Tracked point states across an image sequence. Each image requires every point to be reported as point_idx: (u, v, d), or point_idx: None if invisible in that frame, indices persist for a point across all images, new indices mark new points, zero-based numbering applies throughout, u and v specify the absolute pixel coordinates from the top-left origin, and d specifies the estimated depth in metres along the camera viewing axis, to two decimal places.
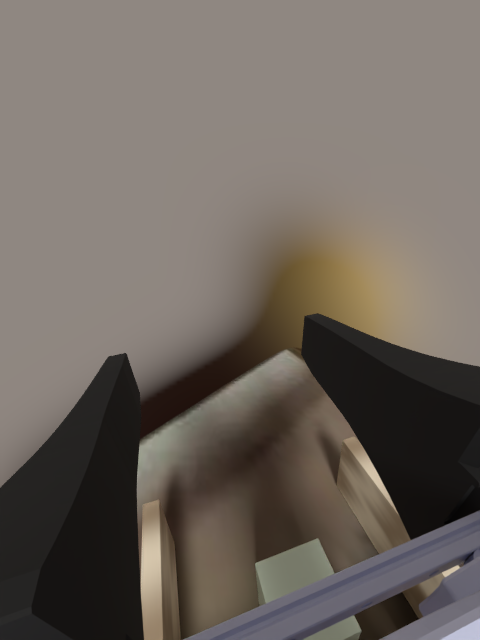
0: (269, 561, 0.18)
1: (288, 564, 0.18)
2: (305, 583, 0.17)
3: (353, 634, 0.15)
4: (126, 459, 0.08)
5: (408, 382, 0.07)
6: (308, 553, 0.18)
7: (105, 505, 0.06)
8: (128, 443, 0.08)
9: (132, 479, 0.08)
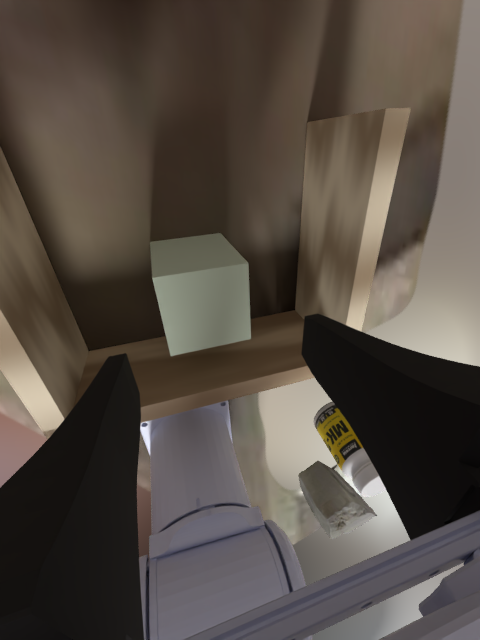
0: (173, 278, 0.13)
1: (198, 284, 0.13)
2: (212, 304, 0.14)
3: (242, 340, 0.16)
4: (126, 459, 0.08)
5: (408, 383, 0.07)
6: (228, 277, 0.13)
7: (105, 505, 0.06)
8: (128, 443, 0.08)
9: (132, 479, 0.08)
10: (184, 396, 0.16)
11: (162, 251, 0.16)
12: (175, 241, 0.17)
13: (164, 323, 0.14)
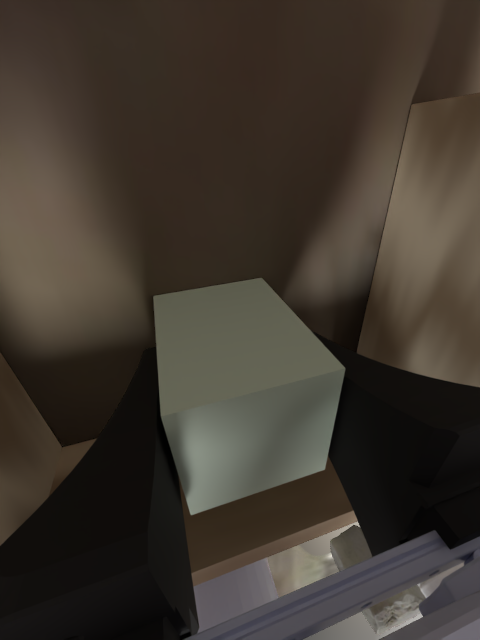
0: (204, 410, 0.06)
1: (250, 413, 0.07)
2: (271, 437, 0.07)
3: (311, 473, 0.09)
4: None
5: (363, 395, 0.07)
6: (306, 394, 0.07)
7: (167, 486, 0.06)
8: None
9: (175, 466, 0.08)
10: (211, 565, 0.09)
11: (176, 323, 0.09)
12: (194, 296, 0.11)
13: (182, 477, 0.07)
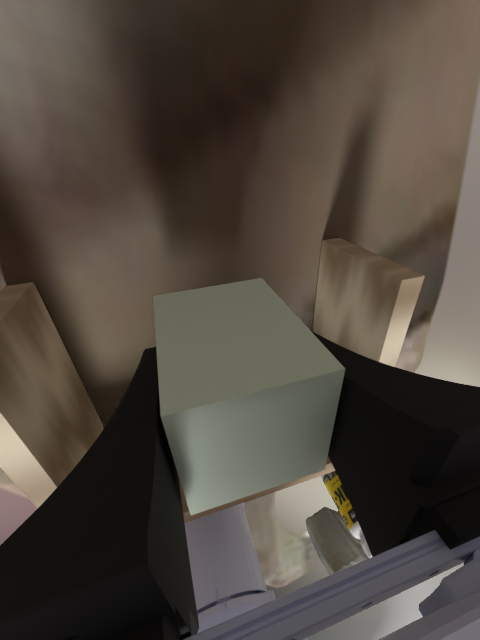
0: (204, 410, 0.06)
1: (250, 413, 0.07)
2: (271, 437, 0.07)
3: (311, 473, 0.09)
4: None
5: (363, 395, 0.07)
6: (306, 394, 0.07)
7: (167, 486, 0.06)
8: None
9: (175, 466, 0.08)
10: None
11: (175, 323, 0.09)
12: (194, 296, 0.11)
13: (182, 477, 0.07)
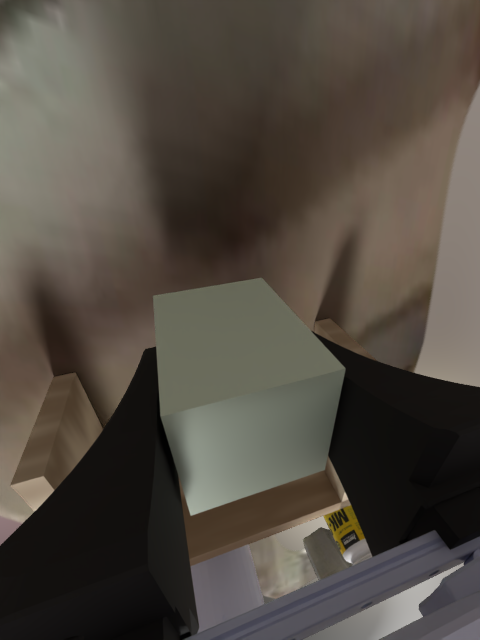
0: (204, 410, 0.06)
1: (250, 413, 0.07)
2: (271, 437, 0.07)
3: (311, 473, 0.09)
4: None
5: (363, 395, 0.07)
6: (306, 395, 0.07)
7: (167, 486, 0.06)
8: None
9: (175, 466, 0.08)
10: (216, 549, 0.20)
11: (176, 323, 0.09)
12: (194, 296, 0.11)
13: (182, 477, 0.07)
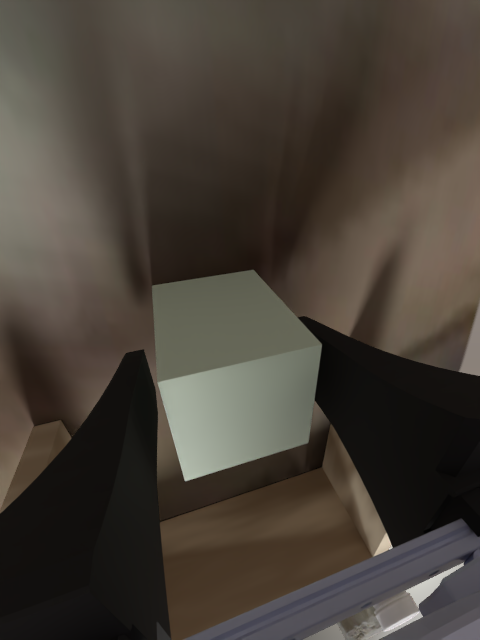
0: (195, 378, 0.07)
1: (237, 383, 0.08)
2: (257, 407, 0.08)
3: (295, 445, 0.10)
4: (148, 453, 0.08)
5: (387, 388, 0.07)
6: (287, 367, 0.08)
7: (135, 496, 0.06)
8: (149, 437, 0.09)
9: (153, 473, 0.08)
10: None
11: (172, 308, 0.10)
12: (190, 285, 0.11)
13: (176, 442, 0.08)
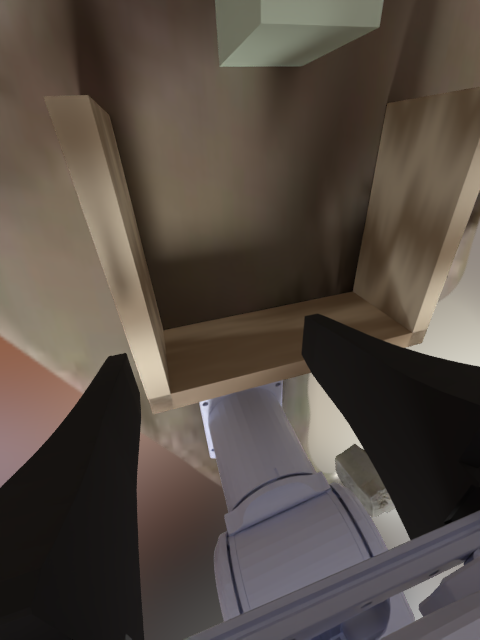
0: None
1: None
2: None
3: (367, 26, 0.10)
4: (126, 459, 0.08)
5: (408, 382, 0.07)
6: None
7: (105, 505, 0.06)
8: (128, 443, 0.08)
9: (132, 479, 0.08)
10: (273, 368, 0.16)
11: None
12: None
13: None
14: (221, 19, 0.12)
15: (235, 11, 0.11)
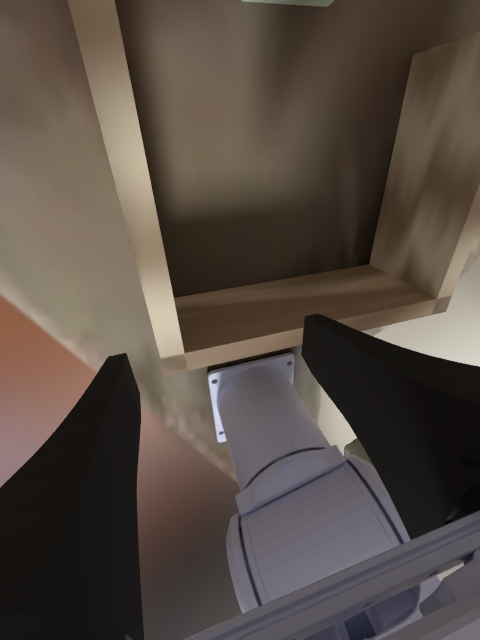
0: None
1: None
2: None
3: None
4: (126, 459, 0.08)
5: (408, 382, 0.07)
6: None
7: (105, 505, 0.06)
8: (128, 443, 0.08)
9: (132, 479, 0.08)
10: (292, 330, 0.16)
11: None
12: None
13: None
14: None
15: None
